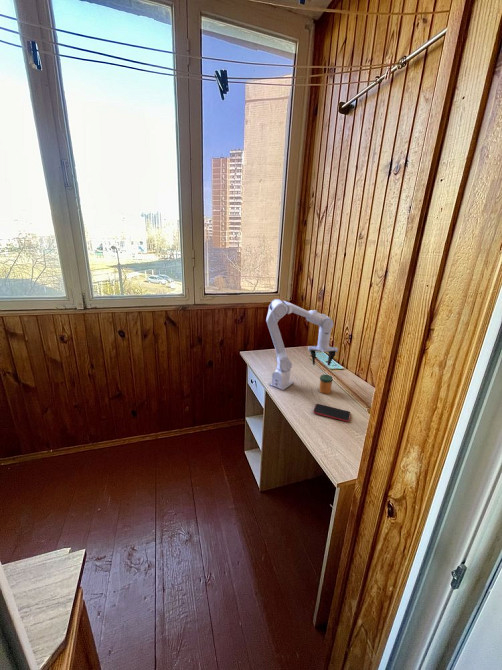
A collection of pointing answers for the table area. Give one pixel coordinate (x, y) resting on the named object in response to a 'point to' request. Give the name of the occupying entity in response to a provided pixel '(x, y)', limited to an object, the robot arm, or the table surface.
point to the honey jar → (325, 387)
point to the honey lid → (326, 378)
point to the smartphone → (332, 412)
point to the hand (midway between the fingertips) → (321, 364)
